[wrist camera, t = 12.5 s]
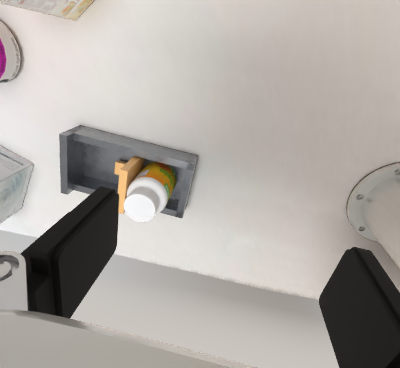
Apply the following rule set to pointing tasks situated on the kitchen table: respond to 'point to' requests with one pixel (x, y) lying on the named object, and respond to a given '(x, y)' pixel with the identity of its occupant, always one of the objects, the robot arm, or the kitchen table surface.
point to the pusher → (127, 176)
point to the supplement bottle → (150, 191)
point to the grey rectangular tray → (123, 151)
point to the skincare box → (12, 182)
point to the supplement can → (8, 55)
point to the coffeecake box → (53, 6)
